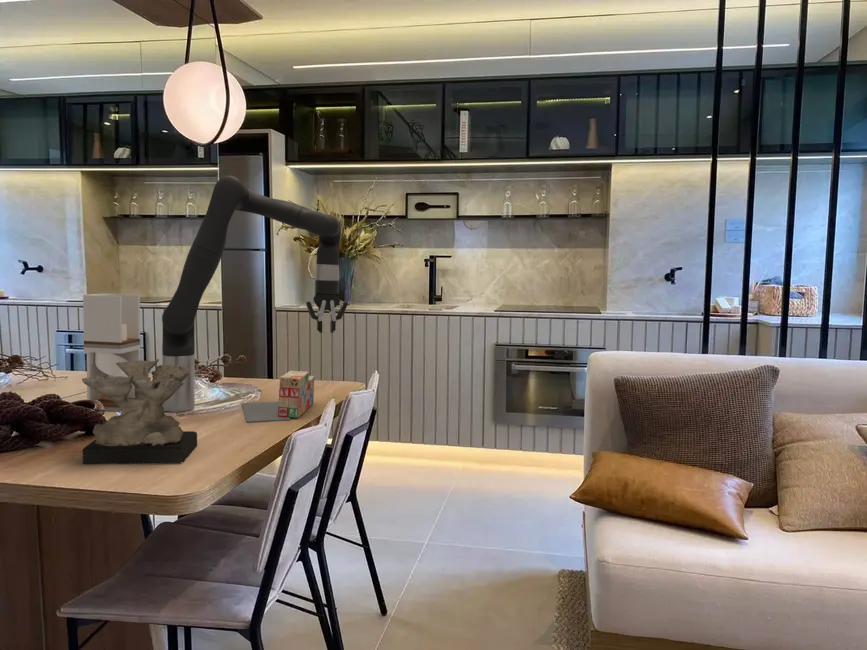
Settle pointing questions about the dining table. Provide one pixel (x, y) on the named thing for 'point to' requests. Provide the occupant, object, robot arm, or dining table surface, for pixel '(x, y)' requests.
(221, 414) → the dining table surface
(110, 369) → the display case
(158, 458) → the coral
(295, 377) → the stack of blocks
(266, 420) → the mat
